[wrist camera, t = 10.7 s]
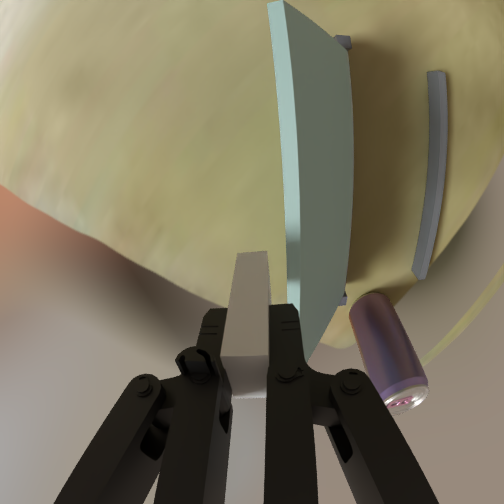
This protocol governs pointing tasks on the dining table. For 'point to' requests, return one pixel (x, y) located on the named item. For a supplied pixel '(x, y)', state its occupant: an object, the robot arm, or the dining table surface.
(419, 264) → the plastic rails
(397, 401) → the beverage can
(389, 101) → the dining table surface
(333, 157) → the cover
